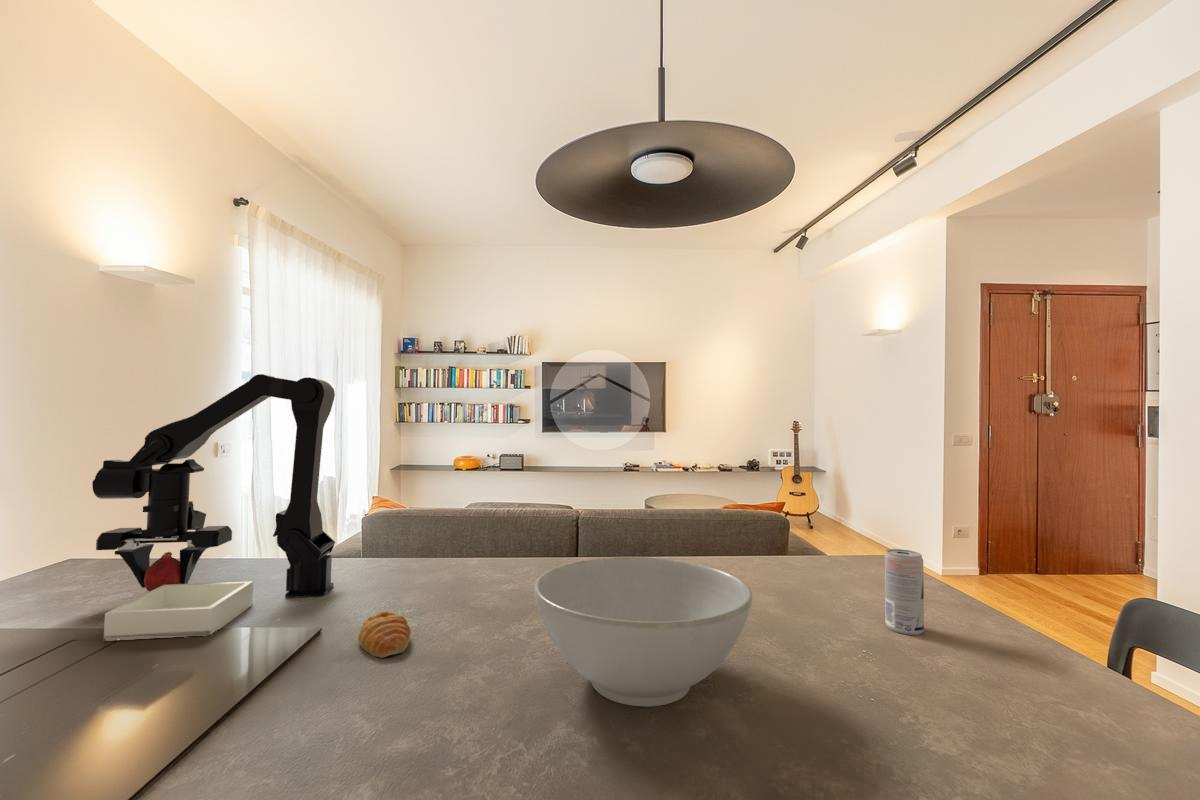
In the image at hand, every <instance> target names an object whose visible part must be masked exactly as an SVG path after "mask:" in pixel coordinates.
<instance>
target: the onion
mask: <svg viewBox="0 0 1200 800" xmlns="http://www.w3.org/2000/svg"><path fill="white" fill-rule="evenodd" d="M172 555H173V553H172V552H170V551H167V552H164V553H163V554H162V555H161V557H160V558H158V559H157V560H155V561H154V562H152V564H151V565H149V568H148V570H147V571H146V573H145V576H144V586H145V588H144V589H146V591H147V592H150V591H152V590H154V589H156V588H158V587H160V586H162V585H170V584H181V581H180V560H178V559H176V558H174V557H173V556H172Z"/></svg>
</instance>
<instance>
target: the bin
mask: <svg viewBox="0 0 1200 800" xmlns="http://www.w3.org/2000/svg"><path fill="white" fill-rule="evenodd" d="M253 593H254V581H252V580H251V581H232V582H229V581H227V582H226V581H225V582H223V581H222V582H205V583H188V584H170V585H162V586H160V587H158V588H156V589H154V590H152V591H150V592H149V591H147V593H144V594H142V595H140V596H138V597H136V598H133V599H132V600H130V601H128V602H126V603H123V604H121V605H120V606H117V607H115V608H113V609H111V610H108V611H107V612H105V613H104V624H103V625H104V627H103V640H104V639H108V638H116V637H131V636H133V637H134V636H199V635H210V634H212V633H213V632H214V631H215V630H218V629H219V630H221V628H224V626H226V625H228V623H230V622H231V621H233V620H234V619H236V617H238V616H240V615H241V614H242V613H244V612H245V611H246V610H247V609H249V608H251V607H252V606H253V599H254V598H253V597H254V596H253ZM219 630H218V631H219ZM212 635H213V634H212Z"/></svg>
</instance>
